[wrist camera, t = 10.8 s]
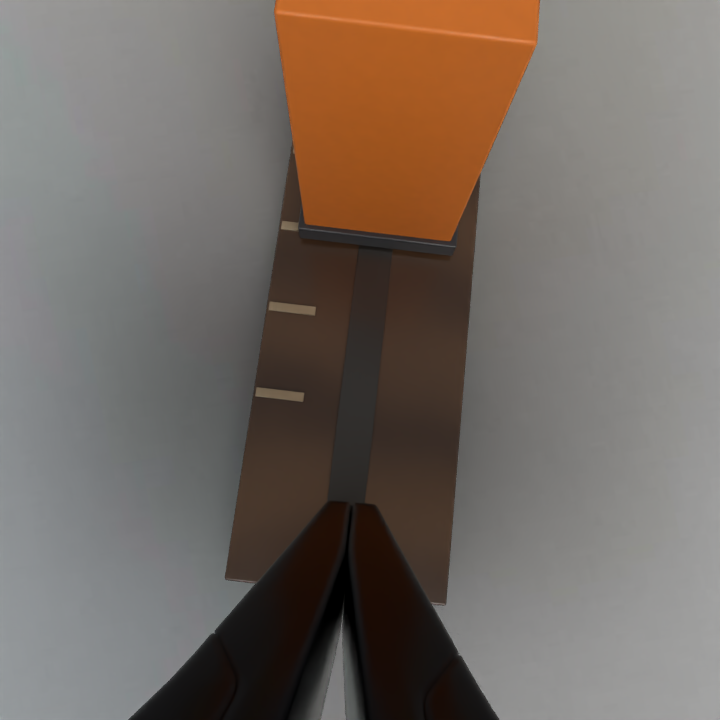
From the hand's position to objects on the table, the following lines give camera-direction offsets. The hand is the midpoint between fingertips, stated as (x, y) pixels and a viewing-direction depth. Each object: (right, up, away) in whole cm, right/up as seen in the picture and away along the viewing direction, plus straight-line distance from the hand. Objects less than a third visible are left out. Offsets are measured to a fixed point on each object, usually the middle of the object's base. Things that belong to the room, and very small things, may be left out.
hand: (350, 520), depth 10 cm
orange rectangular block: (+1, +9, +11) cm, 14 cm away
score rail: (0, +5, +12) cm, 13 cm away
